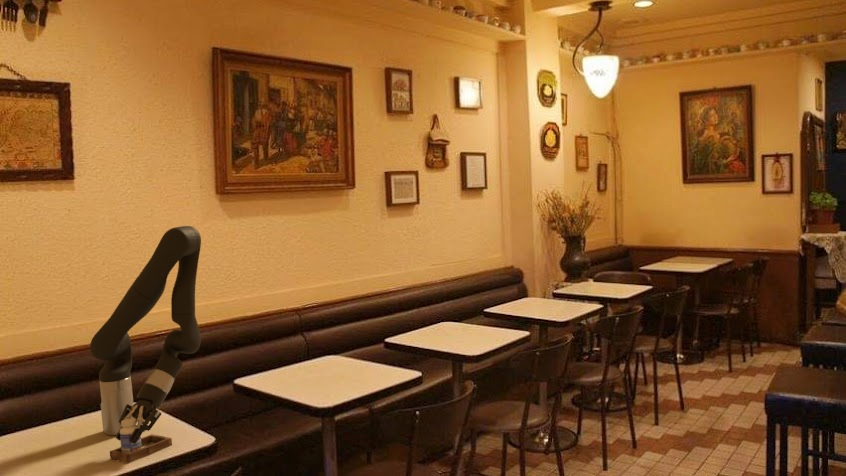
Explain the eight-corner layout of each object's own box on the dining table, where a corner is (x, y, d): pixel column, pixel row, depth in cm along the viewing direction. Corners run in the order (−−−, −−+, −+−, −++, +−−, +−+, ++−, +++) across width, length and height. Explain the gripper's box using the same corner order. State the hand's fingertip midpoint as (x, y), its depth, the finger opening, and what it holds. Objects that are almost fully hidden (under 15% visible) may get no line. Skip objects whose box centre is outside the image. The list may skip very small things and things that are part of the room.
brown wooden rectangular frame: (109, 458, 201) (108, 451, 201) (152, 441, 213) (151, 434, 213) (129, 463, 196) (128, 455, 196) (172, 445, 209) (171, 437, 208)
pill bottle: (134, 456, 199) (131, 423, 198) (118, 456, 200) (114, 423, 199) (146, 449, 204) (142, 416, 203) (129, 449, 205) (126, 416, 204)
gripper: (132, 380, 211) (100, 432, 201) (163, 384, 203) (132, 438, 194) (148, 392, 216) (118, 443, 206) (180, 396, 208) (150, 450, 199)
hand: (125, 440), depth 200 cm, fingers closed on pill bottle, 5 cm apart
